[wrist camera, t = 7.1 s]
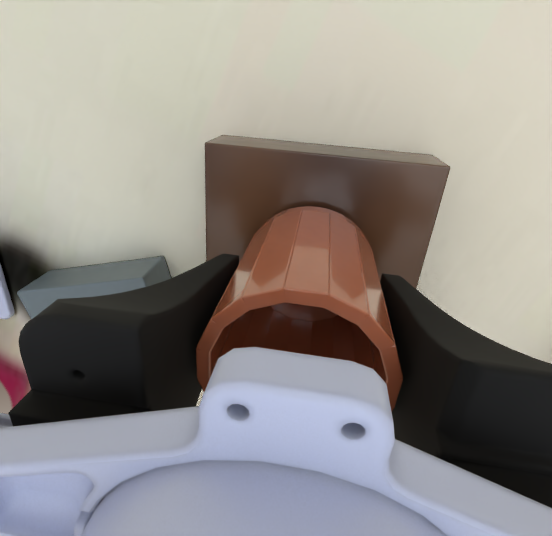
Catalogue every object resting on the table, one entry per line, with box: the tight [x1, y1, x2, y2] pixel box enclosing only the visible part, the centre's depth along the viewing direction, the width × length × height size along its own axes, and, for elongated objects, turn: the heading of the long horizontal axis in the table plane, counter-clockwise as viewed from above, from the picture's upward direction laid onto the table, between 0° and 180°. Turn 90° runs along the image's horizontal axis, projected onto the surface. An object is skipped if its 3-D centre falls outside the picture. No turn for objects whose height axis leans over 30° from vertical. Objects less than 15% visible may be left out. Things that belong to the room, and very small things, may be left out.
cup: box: [196, 206, 403, 412], centre depth 12 cm, size 5×5×6 cm
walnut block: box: [205, 135, 450, 289], centre depth 17 cm, size 9×9×2 cm
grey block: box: [17, 256, 171, 319], centre depth 20 cm, size 7×7×2 cm
